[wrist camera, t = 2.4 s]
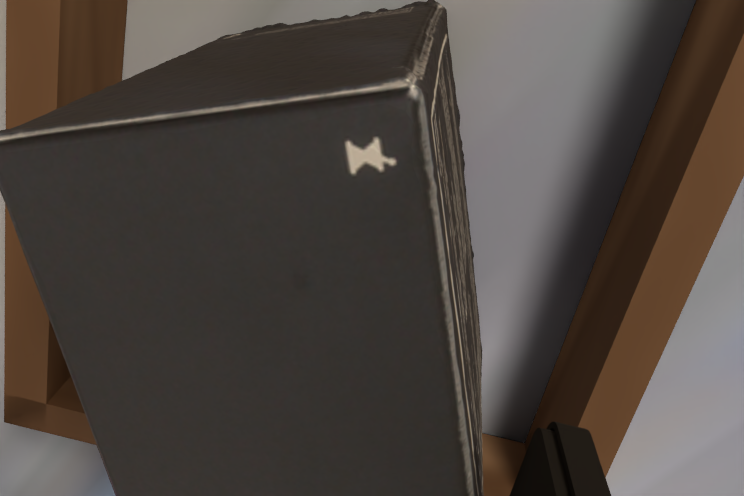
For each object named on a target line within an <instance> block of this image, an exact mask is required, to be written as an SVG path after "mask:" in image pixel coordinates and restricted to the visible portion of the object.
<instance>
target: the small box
mask: <svg viewBox="0 0 744 496" xmlns="http://www.w3.org/2000/svg"><path fill="white" fill-rule="evenodd" d="M459 126H460V115H459V110H458V106H457V100H456V93H455V83H454V78H453V71H452V60H451V53H450V46H449V38H448V29H447V13H446V9H445V8H444V7H443V6H441V5H440V4H439V3H437V2H436V1H435V0H428V1H427V2H419V1H418V2H414V3H412V4H408V5H405V6H404V7H402V8H398V9H395V10H387V9H385V8H383V9H379V10H378V11H376V12H373V13H372V12H361V13H360V14H358V15H355V16H352V17H350V16H347V15H345V16H343V17H341V18H331V19H327V20H312V21H309V22H305V23H299V24H293V25H286V24H283V23H278V24H275V25H267V26H264V27H262V28H255V29H253V30H248V31H245V32H242V33H238V34H232V35H225V36H223V37H220V38H219V39H217V40H215V41H213V42H210V43H208V44H206V45H203V46H201V47H199V48H197V49H195V50H193V51H190V52H188V53H186V54H184V55H181V56H178V57H177V58H174V59H171V60H169V61H166V62H165V63H162V64H160V65H158V66H156V67H154V68H151V69H148V70H145V71H144V72H142V73H139V74H137V75H135V76H133V77H131V78H129V79H126V80H123V81H121V82H118V83H116V84H114V85H111V86H107V87H106V88H104V89H103V90H101V91H98V92H95V93H93V94H89V95H87V96H85V97H83V98H80V99H78V100H76V101H73V102H71V103H69V104H67V105H66V106H63V107H60V108H58V109H56V110H54V111H51V112H49V113H47V114H45V115H42V116H40V117H38V118H35V119H33V120H31V121H29V122H26V123H24V124H22V125H19V126H16V127H13V128H11V129H6V130H1V131H0V191H1V194H2V196H3V198H4V201H5V204H6V206H7V209H8V212H9V214H10V217H11V220H12V222H13V225H14V228H15V231H16V233H17V236H18V239H19V242H20V244H21V247H22V250H23V253H24V255H25V258H26V260H27V263H28V266H29V268H30V271H31V273H32V276H33V278H34V281H35V284H36V286H37V289H38V291H39V294H40V296H41V299H42V302H43V304H44V307H45V309H46V312H47V315H48V317H49V320H50V322H51V325H52V328H53V330H54V333H55V336H56V338H57V341H58V343H59V346H60V349H61V351H62V354H63V357H64V359H65V362H66V364H67V367H68V370H69V372H70V375H71V378H72V380H73V383H74V386H75V388H76V391H77V394H78V396H79V399H80V402H81V404H82V407H83V410H84V412H85V415H86V418H87V420H88V423H89V426H90V428H91V431H92V434H93V436H94V439H95V442H96V444H97V447H98V450H99V452H100V455H101V458H102V460H103V463H104V466H105V468H106V471H107V474H108V476H109V479H110V482H111V484H112V487H113V490H114V492H115V495H116V496H484V491H483V451H482V413H481V375H482V373H481V366H482V346H481V340H480V327H479V314H478V306H477V296H476V286H475V278H474V266H473V257H474V253H473V251H472V246H471V237H470V230H469V218H468V211H467V201H466V187H465V180H464V166H465V163H464V159H463V157H464V154H463V151H462V141H461V137H460V132H459Z"/></svg>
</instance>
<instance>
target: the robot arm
mask: <svg viewBox="0 0 744 496" xmlns="http://www.w3.org/2000/svg"><path fill="white" fill-rule="evenodd" d="M509 496H611V494H610V491H609V488H608V485H607V482H606V479H605V475H604V472H603V469H602V466H601V463H600V460H599V457H598V454H597V451H596V448H595V445H594V442H593V439H592V436H591V433H590V431H589V430H587V429H585V428H580V427H576V426H572V425H567V424H563V423H559V422H554V421H553V422H551V423H550V424H549V425H548V427H547V429H543V428H537V429H536V430H535V432H534V434H533V436H532V439H531V441H530V444H529V446H528V449H527V452H526V454H525V457H524V459H523V462H522V464H521V467H520V470H519V472H518V475H517V477H516V480H515V483H514V485H513V488H512V490H511V493H510V495H509Z"/></svg>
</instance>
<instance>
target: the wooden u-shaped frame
mask: <svg viewBox="0 0 744 496" xmlns="http://www.w3.org/2000/svg"><path fill="white" fill-rule="evenodd" d="M126 13H127V0H7V9H6V129H11V128H13V127H16V126H19V125H22V124H24V123H26V122H29V121H31V120H33V119H35V118H38V117H40V116H42V115H45V114H47V113H49V112H51V111H54V110H56V109H58V108H60V107H63V106H66V105H67V104H69V103H71V102H73V101H76V100H78V99H80V98H83V97H85V96H87V95H89V94H93V93H95V92H98V91H101V90H103V89H104V88H106V87H107V86H111V85H114V84H116V83H118V82H121V81H122V68H123V54H124V41H125V27H126ZM743 176H744V0H696V3H695V5H694V8H693V10H692V13H691V16H690V18H689V21H688V23H687V26H686V28H685V31H684V34H683V36H682V39H681V41H680V44H679V47H678V49H677V52H676V54H675V57H674V59H673V62H672V65H671V67H670V70H669V72H668V75H667V78H666V80H665V83H664V85H663V88H662V90H661V93H660V96H659V98H658V101H657V103H656V106H655V108H654V111H653V114H652V116H651V119H650V121H649V124H648V127H647V129H646V132H645V134H644V137H643V139H642V142H641V145H640V147H639V150H638V152H637V155H636V158H635V160H634V163H633V165H632V168H631V170H630V173H629V176H628V178H627V181H626V183H625V186H624V188H623V191H622V194H621V196H620V199H619V201H618V204H617V207H616V209H615V212H614V214H613V217H612V219H611V222H610V225H609V227H608V230H607V232H606V235H605V237H604V240H603V243H602V245H601V248H600V250H599V253H598V256H597V258H596V261H595V263H594V266H593V268H592V271H591V274H590V276H589V279H588V281H587V284H586V287H585V289H584V292H583V294H582V297H581V299H580V302H579V305H578V307H577V310H576V312H575V315H574V317H573V320H572V323H571V325H570V328H569V330H568V333H567V336H566V338H565V341H564V343H563V346H562V348H561V351H560V354H559V356H558V359H557V361H556V364H555V366H554V369H553V372H552V374H551V377H550V379H549V382H548V385H547V387H546V390H545V392H544V395H543V397H542V400H541V403H540V405H539V408H538V410H537V413H536V416H535V418H534V421H533V423H532V426H531V428H530V431H529V434H528V436H527V439H526V441H525V444H524V443H520V442H516V441H512V440H508V439H504V438H500V437H496V436H492V435H487V434H483V433H482V451H483V491H484V496H509V495H510V493H511V490H512V488H513V485H514V483H515V480H516V477H517V475H518V472H519V470H520V467H521V464H522V462H523V459H524V457H525V454H526V452H527V449H528V446H529V444H530V441H531V439H532V436H533V434H534V432H535V430H536V429H537V428H543V429H547V427H548V425H549V424H550V423H551V422H553V421H554V422H559V423H563V424H567V425H572V426H576V427H580V428H585V429H587V430H589V431H590V433H591V436H592V439H593V442H594V445H595V448H596V451H597V454H598V457H599V460H600V463H601V466H602V469H603V472H604V475H605V477H606V475H607V473H608V471H609V468H610V466H611V464H612V462H613V460H614V458H615V455H616V453H617V451H618V449H619V447H620V444H621V442H622V440H623V438H624V436H625V434H626V431H627V429H628V427H629V425H630V423H631V420H632V418H633V416H634V414H635V412H636V410H637V407H638V405H639V403H640V401H641V399H642V396H643V394H644V392H645V390H646V388H647V386H648V383H649V381H650V379H651V377H652V375H653V372H654V370H655V368H656V366H657V364H658V362H659V359H660V357H661V355H662V353H663V351H664V348H665V346H666V344H667V342H668V340H669V338H670V335H671V333H672V331H673V329H674V327H675V324H676V322H677V320H678V318H679V316H680V314H681V311H682V309H683V307H684V305H685V303H686V300H687V298H688V296H689V294H690V292H691V290H692V287H693V285H694V283H695V281H696V279H697V276H698V274H699V272H700V270H701V268H702V266H703V263H704V261H705V259H706V257H707V255H708V252H709V250H710V248H711V246H712V244H713V242H714V239H715V237H716V235H717V233H718V231H719V228H720V226H721V224H722V222H723V220H724V218H725V215H726V213H727V211H728V209H729V207H730V204H731V202H732V200H733V198H734V196H735V194H736V191H737V189H738V187H739V185H740V183H741V180H742V178H743ZM4 422H6V423H10V424H14V425H18V426H22V427H26V428H30V429H34V430H38V431H42V432H46V433H50V434H54V435H58V436H63V437H67V438H71V439H75V440H79V441H83V442H87V443H91V444H95V445H97V444H96V442H95V439H94V436H93V434H92V431H91V428H90V426H89V423H88V420H87V418H86V415H85V412H84V410H83V407H82V404H81V402H80V399H79V396H78V394H77V391H76V388H75V386H74V383H73V380H72V378H71V375H70V372H69V370H68V367H67V364H66V362H65V359H64V357H63V354H62V351H61V349H60V346H59V343H58V341H57V338H56V336H55V333H54V330H53V328H52V325H51V322H50V320H49V317H48V315H47V312H46V309H45V307H44V304H43V302H42V299H41V296H40V294H39V291H38V289H37V286H36V284H35V281H34V278H33V276H32V273H31V271H30V268H29V266H28V263H27V260H26V258H25V255H24V253H23V250H22V247H21V244H20V242H19V239H18V236H17V233H16V231H15V228H14V225H13V222H12V220H11V217H10V214H9V212H8V209H7V206H6V204H5V384H4Z"/></svg>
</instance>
